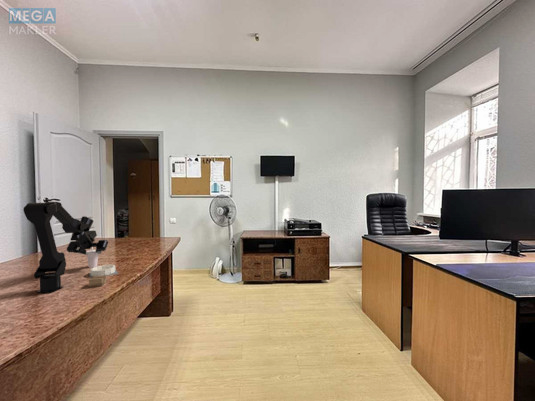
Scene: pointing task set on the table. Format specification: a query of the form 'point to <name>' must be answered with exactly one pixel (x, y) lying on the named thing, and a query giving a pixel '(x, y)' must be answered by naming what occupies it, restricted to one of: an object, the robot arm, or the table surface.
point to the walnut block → (97, 281)
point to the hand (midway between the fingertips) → (94, 253)
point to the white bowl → (102, 270)
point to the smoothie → (92, 258)
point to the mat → (106, 275)
